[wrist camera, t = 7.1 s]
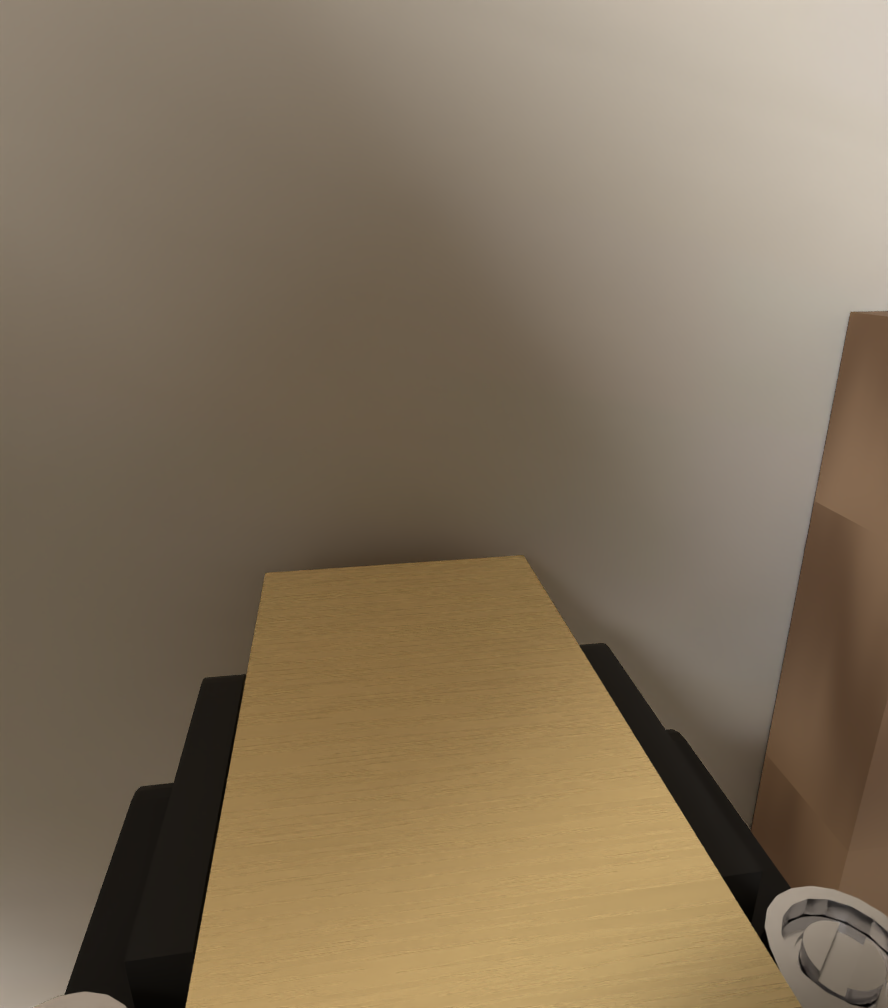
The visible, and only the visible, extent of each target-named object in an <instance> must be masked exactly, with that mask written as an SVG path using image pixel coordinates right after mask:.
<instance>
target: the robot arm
mask: <svg viewBox="0 0 888 1008" xmlns="http://www.w3.org/2000/svg"><path fill="white" fill-rule="evenodd" d="M579 646H580V648H581V650H582V651H583V653H584V654H585V656H586V658H587V659H588V661H589V662H590V664H591V666H592V667H593V669H594V671H595V672H596V674H597V675H598V677H599V679H600V680H601V682H602V684H603V685H604V687H605V688H606V690H607V692H608V693H609V695H610V697H611V698H612V700H613V701H614V703H615V705H616V706H617V708H618V709H619V711H620V713H621V714H622V716H623V718H624V719H625V721H626V722H627V724H628V726H629V727H630V729H631V731H632V732H633V734H634V735H635V737H636V739H637V740H638V742H639V744H640V745H641V747H642V748H643V750H644V752H645V753H646V755H647V756H648V758H649V760H650V761H651V763H652V765H653V766H654V768H655V769H656V771H657V773H658V774H659V776H660V778H661V779H662V781H663V782H664V784H665V786H666V787H667V789H668V791H669V792H670V794H671V795H672V797H673V799H674V800H675V802H676V803H677V805H678V807H679V808H680V810H681V812H682V813H683V815H684V816H685V818H686V820H687V821H688V823H689V825H690V826H691V828H692V829H693V831H694V833H695V834H696V836H697V838H698V839H699V841H700V842H701V844H702V846H703V847H704V849H705V851H706V852H707V854H708V855H709V857H710V859H711V860H712V862H713V863H714V865H715V867H716V868H717V870H718V872H719V873H720V875H721V876H722V878H723V880H724V881H725V883H726V885H727V886H728V888H729V889H730V891H731V893H732V894H733V896H734V898H735V899H736V901H737V902H738V904H739V906H740V907H741V909H742V910H743V912H744V914H745V915H746V917H747V919H748V920H749V922H750V923H751V925H752V927H753V928H754V930H755V932H756V933H757V935H758V936H759V938H760V940H761V941H762V943H763V945H764V946H765V948H766V949H767V951H768V953H769V954H770V956H771V957H772V959H773V961H774V962H775V964H776V966H777V967H778V969H779V970H780V972H781V974H782V975H783V977H784V979H785V980H786V982H787V983H788V985H789V987H790V988H791V990H792V992H793V993H794V995H795V996H796V998H797V1000H798V1001H799V1003H800V1004H801V1006H802V1008H888V917H887V916H885V915H884V914H883V913H882V912H880V911H879V910H877V909H875V908H874V907H872V906H870V905H869V904H867V903H865V902H863V901H862V900H860V899H858V898H856V897H853V896H851V895H848V894H845V893H843V892H840V891H837V890H834V889H829V888H822V887H816V886H805V887H797V888H791V887H790V886H789V884H788V883H787V881H786V880H785V879H784V877H783V876H782V874H781V873H780V872H779V870H778V869H777V867H776V866H775V865H774V863H773V862H772V860H771V859H770V858H769V856H768V855H767V853H766V852H765V851H764V849H763V848H762V846H761V845H760V844H759V842H758V841H757V839H756V838H755V837H754V835H753V834H752V832H751V831H750V830H749V828H748V827H747V825H746V824H745V823H744V821H743V820H742V818H741V817H740V816H739V814H738V813H737V811H736V810H735V809H734V807H733V806H732V804H731V803H730V802H729V800H728V799H727V797H726V796H725V794H724V793H723V792H722V790H721V789H720V787H719V786H718V785H717V783H716V782H715V780H714V779H713V778H712V776H711V775H710V773H709V772H708V771H707V769H706V768H705V766H704V765H703V764H702V762H701V761H700V759H699V758H698V757H697V755H696V754H695V752H694V751H693V750H692V748H691V747H690V745H689V744H688V743H687V741H686V740H685V739H684V738H683V737H682V735H681V734H680V733H679V732H677V731H675V730H672V729H670V730H665V728H664V727H663V726H662V724H661V723H660V721H659V720H658V718H657V717H656V715H655V714H654V712H653V711H652V709H651V708H650V707H649V705H648V704H647V702H646V701H645V699H644V698H643V696H642V695H641V693H640V692H639V691H638V689H637V688H636V686H635V685H634V683H633V682H632V680H631V679H630V677H629V676H628V675H627V673H626V672H625V670H624V669H623V667H622V666H621V664H620V663H619V661H618V660H617V659H616V657H615V656H614V654H613V653H612V651H611V650H610V648H609V647H608V646H607V645H606V644H604V643H598V644H586V645H579ZM245 681H246V674H243V675H231V676H220V677H209V678H204V679H203V681H202V684H201V687H200V691H199V695H198V698H197V702H196V705H195V709H194V712H193V716H192V720H191V723H190V727H189V730H188V734H187V738H186V741H185V745H184V748H183V752H182V756H181V759H180V763H179V766H178V770H177V773H176V777H175V781H174V783H168V784H159V785H150V786H141V787H140V788H139V789H138V790H137V791H136V792H135V794H134V796H133V799H132V801H131V804H130V807H129V809H128V812H127V815H126V818H125V821H124V824H123V827H122V830H121V833H120V836H119V838H118V841H117V844H116V847H115V850H114V853H113V856H112V859H111V862H110V865H109V867H108V870H107V873H106V876H105V879H104V882H103V885H102V888H101V891H100V893H99V896H98V899H97V902H96V905H95V908H94V911H93V914H92V917H91V920H90V922H89V925H88V928H87V931H86V934H85V937H84V940H83V943H82V946H81V949H80V951H79V954H78V957H77V960H76V963H75V966H74V969H73V972H72V975H71V977H70V980H69V983H68V986H67V989H66V992H65V995H61V996H57V997H55V998H52V999H50V1000H48V1001H46V1002H43V1003H41V1004H39V1005H36V1006H34V1007H32V1008H186V1003H187V997H188V992H189V986H190V981H191V975H192V970H193V964H194V959H195V953H196V948H197V943H198V937H199V932H200V926H201V921H202V915H203V910H204V904H205V899H206V893H207V888H208V883H209V877H210V872H211V866H212V861H213V855H214V850H215V844H216V839H217V833H218V828H219V823H220V817H221V812H222V806H223V801H224V795H225V790H226V784H227V779H228V773H229V768H230V763H231V757H232V752H233V746H234V741H235V735H236V730H237V724H238V719H239V713H240V708H241V703H242V697H243V692H244V686H245Z"/></svg>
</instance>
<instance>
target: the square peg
mask: <svg viewBox="0 0 888 1008" xmlns="http://www.w3.org/2000/svg"><path fill="white" fill-rule="evenodd" d="M186 1008H802V1006H801V1004H800V1003H799V1001H798V1000H797V998H796V996H795V995H794V993H793V992H792V990H791V988H790V987H789V985H788V983H787V982H786V980H785V979H784V977H783V975H782V974H781V972H780V970H779V969H778V967H777V966H776V964H775V962H774V961H773V959H772V957H771V956H770V954H769V953H768V951H767V949H766V948H765V946H764V945H763V943H762V941H761V940H760V938H759V936H758V935H757V933H756V932H755V930H754V928H753V927H752V925H751V923H750V922H749V920H748V919H747V917H746V915H745V914H744V912H743V910H742V909H741V907H740V906H739V904H738V902H737V901H736V899H735V898H734V896H733V894H732V893H731V891H730V889H729V888H728V886H727V885H726V883H725V881H724V880H723V878H722V876H721V875H720V873H719V872H718V870H717V868H716V867H715V865H714V863H713V862H712V860H711V859H710V857H709V855H708V854H707V852H706V851H705V849H704V847H703V846H702V844H701V842H700V841H699V839H698V838H697V836H696V834H695V833H694V831H693V829H692V828H691V826H690V825H689V823H688V821H687V820H686V818H685V816H684V815H683V813H682V812H681V810H680V808H679V807H678V805H677V803H676V802H675V800H674V799H673V797H672V795H671V794H670V792H669V791H668V789H667V787H666V786H665V784H664V782H663V781H662V779H661V778H660V776H659V774H658V773H657V771H656V769H655V768H654V766H653V765H652V763H651V761H650V760H649V758H648V756H647V755H646V753H645V752H644V750H643V748H642V747H641V745H640V744H639V742H638V740H637V739H636V737H635V735H634V734H633V732H632V731H631V729H630V727H629V726H628V724H627V722H626V721H625V719H624V718H623V716H622V714H621V713H620V711H619V709H618V708H617V706H616V705H615V703H614V701H613V700H612V698H611V697H610V695H609V693H608V692H607V690H606V688H605V687H604V685H603V684H602V682H601V680H600V679H599V677H598V675H597V674H596V672H595V671H594V669H593V667H592V666H591V664H590V662H589V661H588V659H587V658H586V656H585V654H584V653H583V651H582V650H581V648H580V646H579V645H578V643H577V641H576V640H575V638H574V637H573V635H572V633H571V632H570V630H569V628H568V627H567V625H566V624H565V622H564V620H563V619H562V617H561V615H560V614H559V612H558V611H557V609H556V607H555V606H554V604H553V603H552V601H551V599H550V598H549V596H548V594H547V593H546V591H545V590H544V588H543V586H542V585H541V583H540V581H539V580H538V578H537V577H536V575H535V573H534V572H533V570H532V568H531V567H530V565H529V564H528V562H527V560H526V559H525V557H524V555H518V556H504V557H489V558H475V559H460V560H446V561H431V562H417V563H402V564H388V565H373V566H359V567H344V568H329V569H315V570H300V571H286V572H271V573H265V577H264V583H263V588H262V594H261V599H260V604H259V610H258V615H257V621H256V626H255V632H254V637H253V643H252V648H251V654H250V659H249V664H248V670H247V675H246V681H245V686H244V692H243V697H242V703H241V708H240V713H239V719H238V724H237V730H236V735H235V741H234V746H233V752H232V757H231V763H230V768H229V773H228V779H227V784H226V790H225V795H224V801H223V806H222V812H221V817H220V823H219V828H218V833H217V839H216V844H215V850H214V855H213V861H212V866H211V872H210V877H209V883H208V888H207V893H206V899H205V904H204V910H203V915H202V921H201V926H200V932H199V937H198V943H197V948H196V953H195V959H194V964H193V970H192V975H191V981H190V986H189V992H188V997H187V1003H186Z"/></svg>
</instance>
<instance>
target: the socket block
mask: <svg viewBox="0 0 888 1008" xmlns="http://www.w3.org/2000/svg"><path fill="white" fill-rule="evenodd" d="M751 832H752V834H753V835H754V837H755V838H756V839H757V841H758V842H759V844H760V845H761V846H762V848H763V849H764V851H765V852H766V853H767V855H768V856H769V858H770V859H771V860H772V862H773V863H774V865H775V866H776V867H777V869H778V870H779V872H780V873H781V874H782V876H783V877H784V879H785V880H786V881H787V883H788V884H789V886H790V887H791V888H797V887H805V886H816V887H822V888H829V889H834V890H837V891H840V892H843V893H845V894H848V895H851V896H853V897H856V898H858V899H860V900H862V901H863V902H865V903H867V904H869V905H870V906H872V907H874V908H875V909H877V910H879V911H880V912H882V913H883V914H884V915H885V916H887V917H888V311H875V312H851V313H850V318H849V323H848V329H847V334H846V339H845V344H844V349H843V355H842V360H841V365H840V370H839V375H838V381H837V386H836V391H835V396H834V401H833V407H832V412H831V417H830V422H829V427H828V433H827V438H826V443H825V448H824V453H823V459H822V464H821V469H820V474H819V479H818V485H817V490H816V495H815V500H814V505H813V511H812V516H811V521H810V526H809V531H808V537H807V542H806V547H805V552H804V557H803V563H802V568H801V573H800V578H799V583H798V589H797V594H796V599H795V604H794V609H793V615H792V620H791V625H790V630H789V635H788V641H787V646H786V651H785V656H784V661H783V667H782V672H781V677H780V682H779V687H778V693H777V698H776V703H775V708H774V713H773V719H772V724H771V729H770V734H769V739H768V745H767V750H766V755H765V760H764V765H763V771H762V776H761V781H760V786H759V791H758V797H757V802H756V807H755V812H754V817H753V823H752V828H751Z"/></svg>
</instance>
